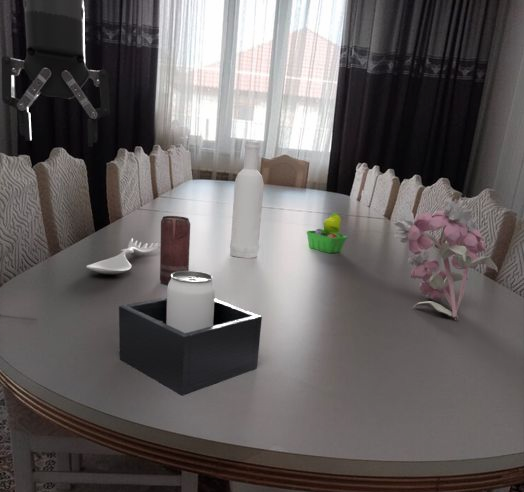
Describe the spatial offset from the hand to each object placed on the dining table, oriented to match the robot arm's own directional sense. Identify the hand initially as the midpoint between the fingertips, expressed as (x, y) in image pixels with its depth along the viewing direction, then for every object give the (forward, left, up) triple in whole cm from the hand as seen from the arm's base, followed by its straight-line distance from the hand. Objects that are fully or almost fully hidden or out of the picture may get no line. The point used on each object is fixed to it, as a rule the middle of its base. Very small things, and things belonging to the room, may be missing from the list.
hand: (59, 143), depth 76 cm
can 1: (+30, +10, -28) cm, 42 cm away
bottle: (+65, +23, -28) cm, 74 cm away
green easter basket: (+96, +17, -28) cm, 101 cm away
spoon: (+30, +28, -28) cm, 50 cm away
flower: (+69, -32, -28) cm, 81 cm away
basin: (+5, -25, -28) cm, 38 cm away
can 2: (+5, -25, -27) cm, 37 cm away
